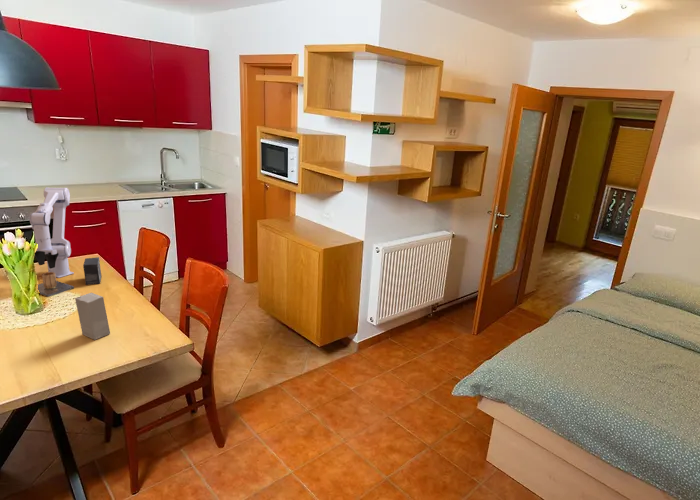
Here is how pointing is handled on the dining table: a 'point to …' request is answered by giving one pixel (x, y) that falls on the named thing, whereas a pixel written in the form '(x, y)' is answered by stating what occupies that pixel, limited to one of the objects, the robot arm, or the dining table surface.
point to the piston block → (54, 289)
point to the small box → (92, 271)
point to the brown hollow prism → (49, 279)
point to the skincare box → (92, 315)
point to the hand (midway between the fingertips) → (47, 266)
